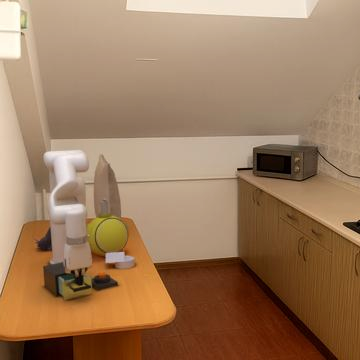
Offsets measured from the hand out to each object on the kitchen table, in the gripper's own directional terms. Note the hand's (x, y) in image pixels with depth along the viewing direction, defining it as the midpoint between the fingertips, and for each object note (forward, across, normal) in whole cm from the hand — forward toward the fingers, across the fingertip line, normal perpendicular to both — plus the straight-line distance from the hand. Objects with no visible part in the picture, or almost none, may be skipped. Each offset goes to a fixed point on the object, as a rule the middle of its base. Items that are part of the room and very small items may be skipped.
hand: (79, 284), depth 218 cm
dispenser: (+6, 0, -16) cm, 18 cm away
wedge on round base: (+7, -31, -28) cm, 43 cm away
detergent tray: (+5, 0, -6) cm, 8 cm away
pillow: (+8, -52, -89) cm, 104 cm away
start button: (+3, -14, -10) cm, 18 cm away
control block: (+6, -14, -10) cm, 19 cm away
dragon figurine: (+8, -20, -76) cm, 79 cm away
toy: (+7, -33, -48) cm, 59 cm away
